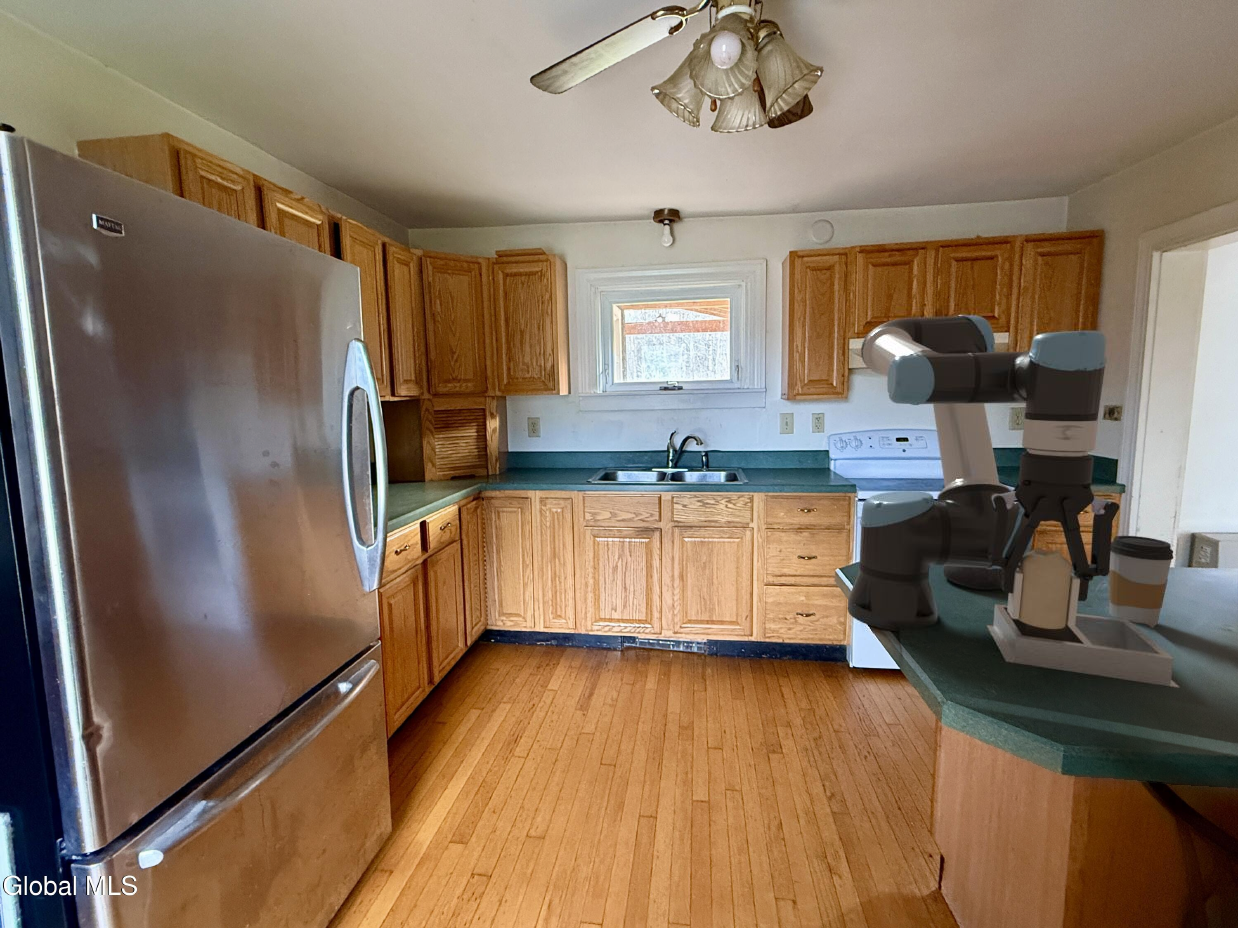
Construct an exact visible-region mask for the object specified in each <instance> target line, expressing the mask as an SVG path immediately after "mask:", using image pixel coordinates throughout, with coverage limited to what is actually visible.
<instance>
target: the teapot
mask: <svg viewBox="0 0 1238 928" xmlns="http://www.w3.org/2000/svg"><path fill="white" fill-rule="evenodd" d="M1017 568H1018V569H1019V570H1020V565H1019V566H1018V567H1017ZM942 573H943V575H944V577H945V578H946V579H948V580H949V581H951V582H953V583H955V584H958V585H961V586H963V587H967V588H971V589H977V590H998V589H999V590H1001V589H1002V587H1001V580H1002V568H993V569H986V568H975V567H958V566H943V571H942Z"/></svg>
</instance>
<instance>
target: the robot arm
mask: <svg viewBox="0 0 1238 928" xmlns="http://www.w3.org/2000/svg"><path fill="white" fill-rule="evenodd" d="M1106 343H1107V338H1106V335H1105V334H1104V333H1103V332H1102V331H1098V330H1073V331H1072V330H1070V331H1069V330H1067V331H1057V332H1045V333H1040V334H1036V335H1035V336H1034V338H1033V339H1032V341H1031V345H1030V350H1025V351H1023V350H1022V351H996V349H995V344H996V339H995V334H994V331H993V328H992V325H991V323H990V322H989V321H988V320H987V319H986V318H984V317H983V316H979V315H967V314H966V315H965V314H956V315H955V316H954V315H952V316H926V317H921V316H920V317H903V318H902V317H901V318H897V319H893V320H890V321H887V322H884V323H882V324H879V325H878V326H877V327H875V328H873V329H872V330H871V331H870V332H868V334H867V335H866V336H865V337H864V340H863V342H862V343H861V344H862V345H861V348H860V353H861V359H862V361H863V363H864V364H865V366H866V367H867V368H868V369H869V370H871V371H872V372H873V373H876V374H878V375H884V376H886V377H887V381H886V382H887V384H886V386H887V387H886V388H887V389H886V390H887V392H888V396H889V397H888V398H889V400H891V402H892V403H894V404H898V405H899V404H902V405H912V406H919V405H932V407H933V414H934V421H935V428H936V432H937V433H936V434H937V441H938V447H939V449H938V450H939V455H940V462H941V470H942V476H943V482H944V488H943V489H942V490H941V491H940V492H939V493H938V494H937V500H935V498H934V496H933V495H932V494H931V493H929V492H926V491H925V492H924V491H912V490H902V491H901V490H900V491H898V490H897V491H890V492H889V491H888V492H883V493H878V494H875V495H871V496H869V497H868V498H866V499H865V500H864V501H863V504H862V509H861V517H860V521H859V524H860V543H859V544H860V547H859V548H860V549H859V566H858V567H859V569H858V574H857V576H856V579H855V581H854V584H853V585H852V588H851V591H850V593H849V596H848V599H847V612H848V614H849V615H850V617H852V618H853V619H855V620H856V621H858V622H861V623H862V624H865V625H868V626H870V627H873V628H878V629H880V630H881V629H882V630H886V631H890V632H891V631H892V632H900V630H899V628H900V629H920V628H927V627H930V626H933V625H934V624H936V623H937V621H938V615H939V614H938V613H939V611H938V608H937V604H936V601H935V597H934V595H933V591H932V587H931V584H930V580H929V579H930V568H931V566H943V567H944V566H958V567H975V568H986V569H993V568H1002V580H1001V587H1002V588H1001V590H1003V592H1004V593H1006V594H1008V599H1007V606H1008V608H1007V611H1008V613H1009V614H1010V616H1011V618H1013V619H1019V610H1020V599H1021V589H1022V578H1023V574H1022V572H1021V571H1020V570H1019V569H1018V568H1017V567H1018V566H1019V565H1020V561H1021V559H1022V557H1023V556H1024V555H1025V554H1027V553H1029V552H1030V550H1031V547H1032V543H1033V539H1034V533H1035V531H1036V530H1037V529H1038V528H1039V526H1040V525H1041V522H1052V521H1053V522H1056V523H1059V524H1060V525H1061V527H1062V530H1063V535H1064V538H1065V543H1066V546H1067V550H1068V554H1069V557H1070V561H1071V562H1070V563H1071V565H1072V571H1073V572H1074V573H1073V572H1071V580H1070V589H1069V598H1068V607H1067V617H1066V624H1067V625H1068V626H1075V621H1076V614H1077V612H1078V611H1077V609H1078V602H1086V600H1087V599H1088V594H1089V593H1088V592H1089V584H1090V582H1091V581H1093V580H1094V578H1095V577H1098V576H1101V577H1107V576H1109V571H1110V553H1111V542H1112V537H1113V536H1112V535H1113V522H1114V519H1115V517H1116V515H1118V512H1119V510H1120V504H1119V503H1118V502H1115V501H1114V500H1112V499H1110V498H1101V497H1098V496H1095V494H1094V492H1093V491H1092V486H1091V484H1092V478H1093V471H1094V470H1093V469H1094V461H1095V458H1094V457H1093V455H1091V454H1089V452H1090V453H1091V452H1093V451H1095V449H1096V442H1097V441H1096V440H1097V431H1098V421H1099V413H1100V406H1101V399H1102V391H1103V390H1102V389H1103V385H1104V375H1105V367H1106V364H1107V358H1106V347H1107V345H1106ZM985 404H1025V409H1024V410H1025V412H1024V423H1023V432H1022V443H1021V447H1022V448H1024V449H1026V451H1023V452H1022V453H1021V455H1020V462H1019V471H1018V472H1019V473H1018V482H1017V484H1016V486H1015V487H1014V489H1013V491H1012V489H1010V487H1008V486H1006V485H1005V484H1003V483H1001V482H1000V480H999V475H998V471H997V470H998V469H997V463H996V460H995V454H994V449H993V443H992V442H993V441H992V438H991V433H990V428H989V422H988V417H987V411H986V406H985ZM1015 501H1017V502H1015ZM1090 505H1091V512H1092V513H1094V514H1093V518H1092V532H1091V533H1092V534H1091V547H1090V548H1091V549H1090V551H1091V553H1090V563H1089V561H1088V556H1087V553H1086V552H1087V551H1086V548H1085V545H1084V541H1083V537H1082V533H1081V524H1080V520H1079V517H1078V516H1079V515H1080V514H1081V513H1082V512H1083V511H1084V510H1085V509H1087V508H1088V507H1089V506H1090Z"/></svg>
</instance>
